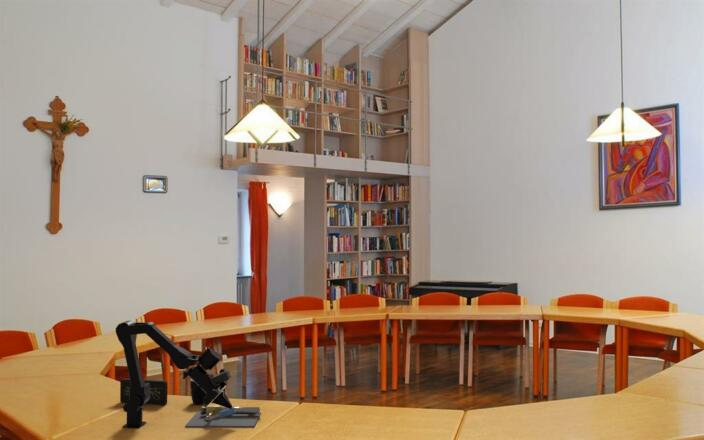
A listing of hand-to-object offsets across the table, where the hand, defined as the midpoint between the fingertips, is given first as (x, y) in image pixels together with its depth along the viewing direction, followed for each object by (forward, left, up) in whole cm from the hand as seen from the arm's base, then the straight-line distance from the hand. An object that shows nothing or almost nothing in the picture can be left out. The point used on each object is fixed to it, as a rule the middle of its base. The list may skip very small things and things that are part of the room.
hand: (231, 407), depth 234 cm
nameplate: (+26, +47, -7) cm, 54 cm away
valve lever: (-1, +9, -4) cm, 10 cm away
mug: (+28, +23, -7) cm, 37 cm away
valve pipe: (+7, +3, -6) cm, 10 cm away
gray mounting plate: (+6, +5, -7) cm, 11 cm away
